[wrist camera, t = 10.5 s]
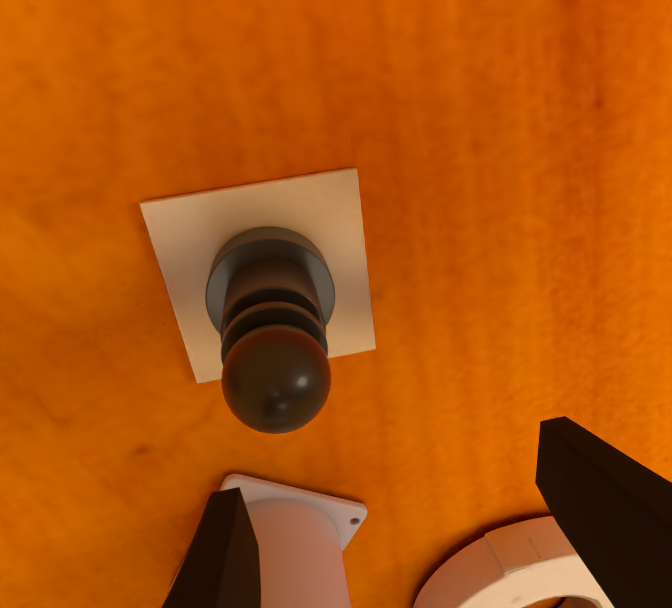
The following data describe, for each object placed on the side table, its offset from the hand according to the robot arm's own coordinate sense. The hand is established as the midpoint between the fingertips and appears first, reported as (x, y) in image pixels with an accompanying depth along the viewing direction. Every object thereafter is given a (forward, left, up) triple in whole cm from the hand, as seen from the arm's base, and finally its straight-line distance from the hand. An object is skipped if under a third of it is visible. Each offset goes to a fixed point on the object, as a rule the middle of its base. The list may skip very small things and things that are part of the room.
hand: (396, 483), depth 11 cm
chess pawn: (0, +3, -10) cm, 10 cm away
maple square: (0, +3, -10) cm, 10 cm away
